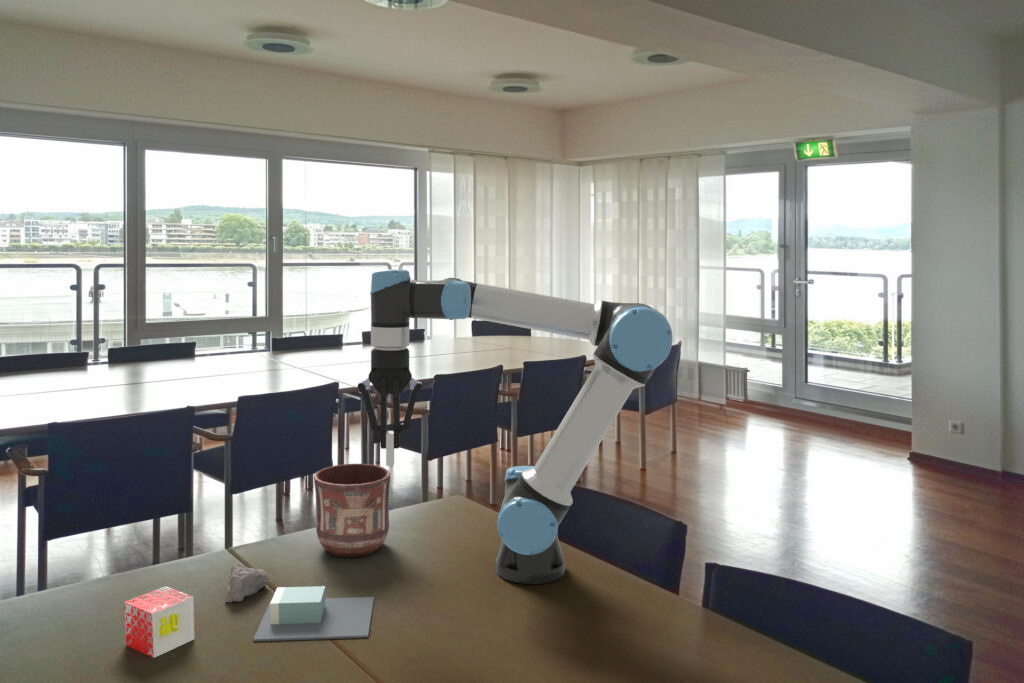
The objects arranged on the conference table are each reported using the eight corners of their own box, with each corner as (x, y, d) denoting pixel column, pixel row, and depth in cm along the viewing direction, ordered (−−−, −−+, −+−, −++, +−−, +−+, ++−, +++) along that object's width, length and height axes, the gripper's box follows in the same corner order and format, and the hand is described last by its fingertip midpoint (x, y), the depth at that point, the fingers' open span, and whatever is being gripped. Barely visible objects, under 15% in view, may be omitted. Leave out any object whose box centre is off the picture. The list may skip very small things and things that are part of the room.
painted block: (325, 586, 153) (277, 587, 152) (320, 602, 146) (270, 603, 145) (325, 606, 153) (277, 607, 152) (320, 622, 146) (270, 624, 145)
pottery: (299, 546, 185) (299, 471, 183) (364, 529, 197) (364, 459, 194) (338, 570, 172) (338, 489, 170) (405, 550, 184) (406, 475, 182)
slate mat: (373, 598, 157) (373, 596, 157) (368, 637, 142) (368, 635, 142) (270, 601, 155) (270, 599, 155) (253, 641, 139) (253, 639, 139)
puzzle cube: (153, 658, 133) (152, 613, 132) (126, 645, 137) (124, 602, 137) (194, 639, 140) (193, 596, 139) (167, 627, 144) (166, 586, 143)
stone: (258, 604, 154) (257, 575, 154) (216, 604, 154) (215, 575, 153) (271, 583, 164) (270, 556, 164) (232, 583, 164) (231, 556, 163)
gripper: (423, 345, 161) (422, 458, 163) (358, 345, 159) (358, 459, 162) (423, 350, 153) (422, 468, 156) (355, 349, 152) (355, 469, 154)
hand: (390, 464), depth 159 cm, fingers closed
